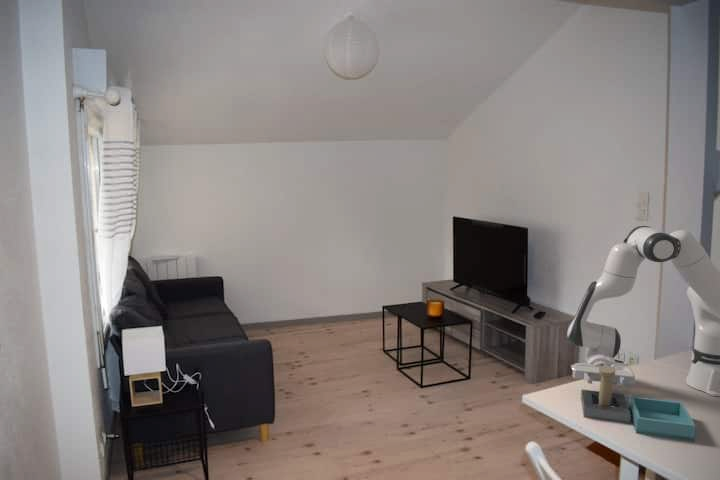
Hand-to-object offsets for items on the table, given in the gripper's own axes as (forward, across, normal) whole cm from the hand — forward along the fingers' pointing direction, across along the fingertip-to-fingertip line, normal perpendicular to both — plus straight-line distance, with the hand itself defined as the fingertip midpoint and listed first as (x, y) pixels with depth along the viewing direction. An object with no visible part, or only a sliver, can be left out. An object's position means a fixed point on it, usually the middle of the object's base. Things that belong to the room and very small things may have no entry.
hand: (604, 383), depth 184 cm
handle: (+2, 0, +9) cm, 9 cm away
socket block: (+2, 0, +9) cm, 9 cm away
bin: (+7, +16, +9) cm, 20 cm away
